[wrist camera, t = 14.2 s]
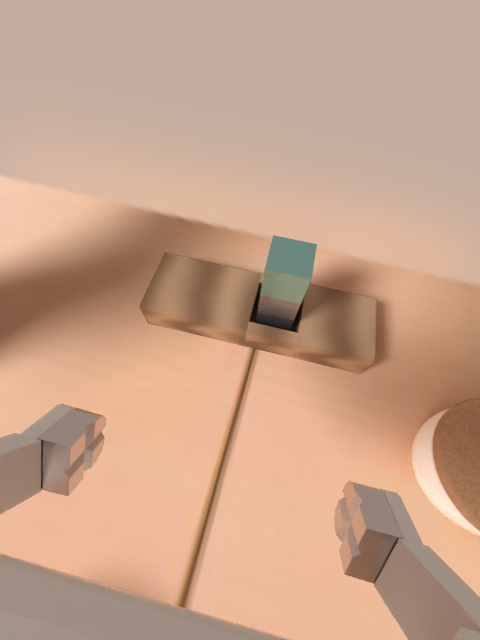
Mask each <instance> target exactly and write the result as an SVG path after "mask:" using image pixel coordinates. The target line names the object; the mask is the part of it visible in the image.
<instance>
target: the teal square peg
mask: <svg viewBox="0 0 480 640" xmlns="http://www.w3.org/2000/svg"><path fill="white" fill-rule="evenodd" d="M316 246H317V244H312V243H308V242H302V241H298V240H293V239H288V238H283V237H278V236H273V239H272V243H271V247H270V251H269V255H268V259H267V263H266V267H265V271H264V277H263V282H262V288H261V294H260V299H259V305H258V310H257V316H256V322H255V323H257V324H262V325H266V326H270V327H275V328H279V329H283V330H288V331H290V329H291V326H292V324H293V321H294V319H295V317H296V314H297V312H298V310H299V307H300V305H301V303H302V300H303V298H304V295H305V293H306V291H307V288H308V286H309V284H310V281H311V278H312V272H313V266H314V259H315V253H316Z"/></svg>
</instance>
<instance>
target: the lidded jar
mask: <svg viewBox="0 0 480 640" xmlns="http://www.w3.org/2000/svg"><path fill="white" fill-rule="evenodd" d="M411 457H412V465H413V470H414V473H415V476H416V479H417V481H418V483H419V485H420V487H421V489H422V491H423V492H424V494H425V495H426V497H427V498H428V500H429V501H430V502H431V503H432V504H433V506H435V507H436V508H437V509H438V510H439V511H440V512H441V513H442V514H443V515H444V516H445V517H446V518H448V519H449V520H450V521H452V522H453V523H455V524H456V525H458V526H460V527H461V528H463V529H465V530H467V531H469V532H470V533H473V534H475V535H477V536H479V537H480V399H473V400H468V401H465V402H462V403H459V404H457V405H455V406H453V407H451V408H448V409H446V410H443V411H441V412H439V413H438V414H436V415H434V416H432V417H431V418H430V419H428V420H427V421H426V422H425V423H424V424H423V425H422V426H421V427H420V429H419V430H418V432H417V434H416V436H415V438H414V441H413V445H412V453H411Z"/></svg>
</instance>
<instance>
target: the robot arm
mask: <svg viewBox="0 0 480 640" xmlns="http://www.w3.org/2000/svg"><path fill="white" fill-rule="evenodd" d="M105 424H106V418H105V417H104V416H103V415H99V414H96V413H92V412H89V411H86V410H82V409H79V408H74V407H71V406H67V405H64V404H61V405H57V406H56V407H55V408H53V409H52V410H51V411H49V412H48V413H47V414H46V415H44V416H43V417H42V418H40V419H39V420H38V421H37V422H35V423H34V424H33V425H31V426H30V427H29V428H28V429H26V430H25V431H24V432H22V433H21V434H16V433H14V434H11V435H8V436H5V437H2V438H0V514H2V513H4V512H5V511H7V510H9V509H11V508H12V507H14V506H16V505H18V504H19V503H21V502H23V501H25V500H26V499H28V498H30V497H32V496H33V495H35V494H37V493H39V492H40V491H41V490H45V491H49V492H53V493H57V494H61V495H66V496H69V495H70V494H71V493H72V491H73V490H74V489H75V488H76V486H77V485H78V484H79V483H80V481H81V480H82V479H83V471H84V470H87V469H89V468H91V467H92V466H93V465H94V463H95V462H96V461H97V459H98V457H99V455H100V453H101V451H102V448H103V445H104V436H103V434H102V432H101V431H102V430H103V429H104V427H105ZM343 492H344V496H345V497H344V498H342V499H341V500H339V501H338V504H337V506H336V510H335V518H334V520H335V530H336V535H337V536H338V537H339V539H340V540H341V541H342V545H341V547H340V555H341V560H342V565H343V569H344V574H345V575H348V576H352V577H355V578H358V579H361V580H364V581H367V582H371V583H374V586H375V588H376V589H377V591H378V592H379V594H380V596H381V597H382V599H383V600H384V602H385V603H386V605H387V607H388V608H389V610H390V611H391V613H392V615H393V616H394V618H395V619H396V621H397V622H398V624H399V626H400V627H401V629H402V630H403V632H404V633H405V635H406V637H407V638H408V640H480V598H479V597H478V596H477V594H476V593H475V592H474V591H473V590H472V589H471V588H470V587H469V586H468V585H467V584H466V583H465V582H464V581H463V580H462V579H461V578H460V577H459V576H458V575H457V574H456V573H455V572H454V571H453V570H452V569H451V568H450V567H449V566H448V565H447V564H446V563H445V562H444V561H443V560H442V559H441V558H440V557H439V556H438V555H437V554H436V553H435V552H434V551H433V550H432V549H431V548H430V547H429V546H425V545H423V543H422V541H421V539H420V537H419V535H418V533H417V530H416V528H415V526H414V524H413V522H412V520H411V518H410V516H409V514H408V512H407V510H406V508H405V505H404V503H403V501H402V499H401V497H400V496H399V495H398V494H397V493H395V492H391V491H387V490H383V489H378V488H374V487H370V486H366V485H362V484H358V483H354V482H350V481H348V482H347V483H346V485H345V487H344V489H343ZM0 640H291V639H287V638H284V637H281V636H277V635H274V634H270V633H267V632H264V631H260V630H257V629H253V628H250V627H247V626H243V625H240V624H237V623H233V622H230V621H226V620H223V619H220V618H216V617H213V616H209V615H206V614H203V613H199V612H196V611H193V610H189V609H186V608H183V607H179V606H176V605H172V604H169V603H166V602H162V601H159V600H156V599H152V598H149V597H146V596H142V595H139V594H136V593H132V592H129V591H125V590H122V589H119V588H115V587H112V586H109V585H105V584H102V583H99V582H95V581H92V580H88V579H85V578H82V577H78V576H75V575H72V574H68V573H65V572H62V571H58V570H55V569H51V568H48V567H45V566H41V565H38V564H35V563H31V562H28V561H25V560H21V559H18V558H14V557H11V556H8V555H4V554H1V553H0Z"/></svg>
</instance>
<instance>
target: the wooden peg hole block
mask: <svg viewBox="0 0 480 640" xmlns="http://www.w3.org/2000/svg"><path fill="white" fill-rule="evenodd" d="M263 277H264V274H261V273H256V272H252V271H247V270H242V269H238V268H233V267H229V266H224V265H220V264H215V263H210V262H206V261H201V260H197V259H192V258H187V257H183V256H178V255H174V254H169V253H165V254H164V256H163V258H162V260H161V262H160V264H159V266H158V268H157V270H156V273H155V275H154V277H153V279H152V281H151V283H150V285H149V287H148V289H147V291H146V293H145V296H144V298H143V300H142V302H141V304H140V308H141V310H142V312H143V314H144V316H145V318H146V320H147V322H148V323H151V324H155V325H159V326H163V327H167V328H172V329H176V330H180V331H184V332H188V333H192V334H197V335H201V336H205V337H209V338H213V339H217V340H222V341H226V342H230V343H234V344H238V345H242V346H247V347H251V348H255V349H259V350H263V351H268V352H272V353H276V354H280V355H284V356H288V357H293V358H297V359H301V360H305V361H309V362H313V363H318V364H322V365H326V366H330V367H334V368H338V369H343V370H347V371H351V372H355V373H359V374H360V373H361V372H363V371H364V370H365V369H366V368H368V367H369V366H370V365H372V364H373V363H374V362H375V344H376V303H377V299H375V298H371V297H366V296H362V295H357V294H352V293H348V292H343V291H339V290H334V289H330V288H325V287H320V286H316V285H311V284H309V286H308V288H307V291H306V293H305V295H304V298H303V300H302V303H301V305H300V307H299V310H298V312H297V314H296V317H295V319H294V321H293V324H292V326H291V329H290V331H288V330H283V329H279V328H275V327H270V326H266V325H262V324H257V323H255V322H256V316H257V310H258V305H259V299H260V294H261V288H262V282H263Z"/></svg>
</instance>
